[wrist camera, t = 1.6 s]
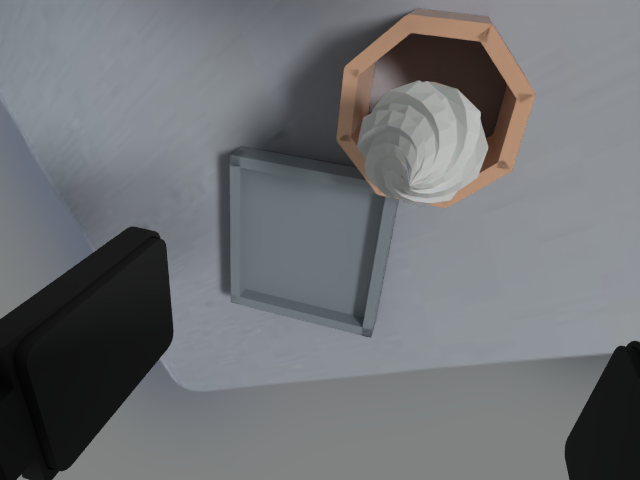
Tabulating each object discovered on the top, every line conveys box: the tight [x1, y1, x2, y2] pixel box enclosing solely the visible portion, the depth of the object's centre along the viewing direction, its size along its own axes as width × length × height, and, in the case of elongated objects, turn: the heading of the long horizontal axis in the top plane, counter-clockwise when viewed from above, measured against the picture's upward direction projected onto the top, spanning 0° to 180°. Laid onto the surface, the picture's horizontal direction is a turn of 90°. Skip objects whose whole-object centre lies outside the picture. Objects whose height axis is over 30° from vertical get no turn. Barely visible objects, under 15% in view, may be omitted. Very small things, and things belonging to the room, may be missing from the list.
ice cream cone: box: [357, 80, 488, 207], centre depth 23 cm, size 6×6×15 cm
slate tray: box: [230, 146, 399, 338], centre depth 36 cm, size 13×12×2 cm
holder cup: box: [336, 9, 536, 208], centre depth 27 cm, size 10×10×6 cm
